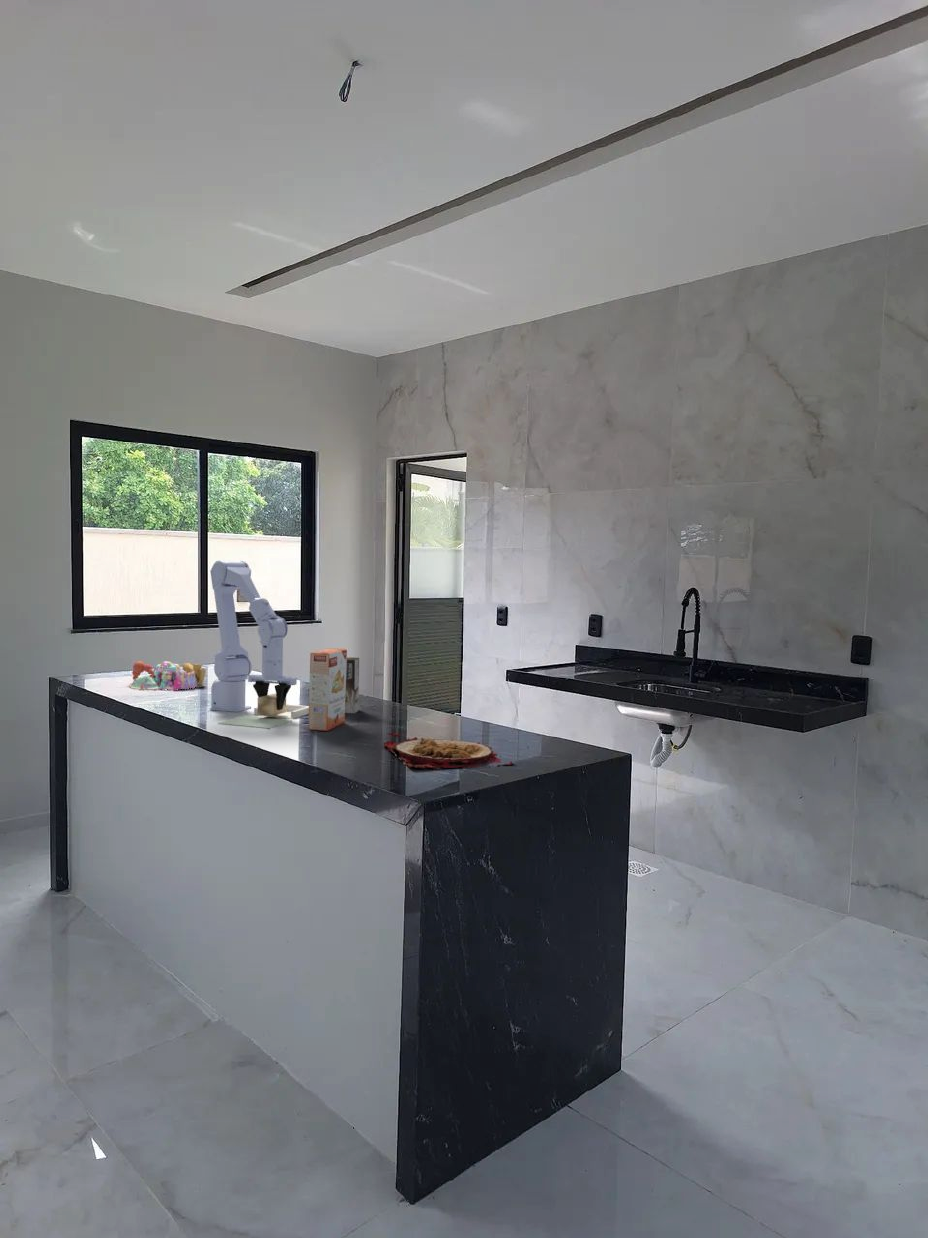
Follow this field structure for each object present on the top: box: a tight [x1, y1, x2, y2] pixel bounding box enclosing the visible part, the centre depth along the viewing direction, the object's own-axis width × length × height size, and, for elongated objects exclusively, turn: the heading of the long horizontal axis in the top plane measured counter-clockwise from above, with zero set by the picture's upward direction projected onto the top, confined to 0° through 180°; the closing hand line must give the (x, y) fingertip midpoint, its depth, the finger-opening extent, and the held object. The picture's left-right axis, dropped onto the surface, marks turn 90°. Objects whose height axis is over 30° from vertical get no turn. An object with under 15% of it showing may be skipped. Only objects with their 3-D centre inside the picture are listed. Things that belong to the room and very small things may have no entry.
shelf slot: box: [253, 703, 309, 720], centre depth 255 cm, size 13×11×2 cm
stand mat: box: [217, 715, 293, 730], centre depth 241 cm, size 16×12×1 cm
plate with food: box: [382, 732, 515, 770], centre depth 207 cm, size 25×26×4 cm
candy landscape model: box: [128, 660, 207, 691], centre depth 303 cm, size 25×24×9 cm
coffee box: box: [345, 656, 360, 714], centre depth 262 cm, size 9×6×16 cm
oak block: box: [256, 693, 287, 718], centre depth 249 cm, size 4×8×5 cm, turn 162°
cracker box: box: [307, 648, 348, 732], centre depth 238 cm, size 14×6×21 cm, turn 168°
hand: (271, 708), depth 249 cm, fingers closed on oak block, 4 cm apart
